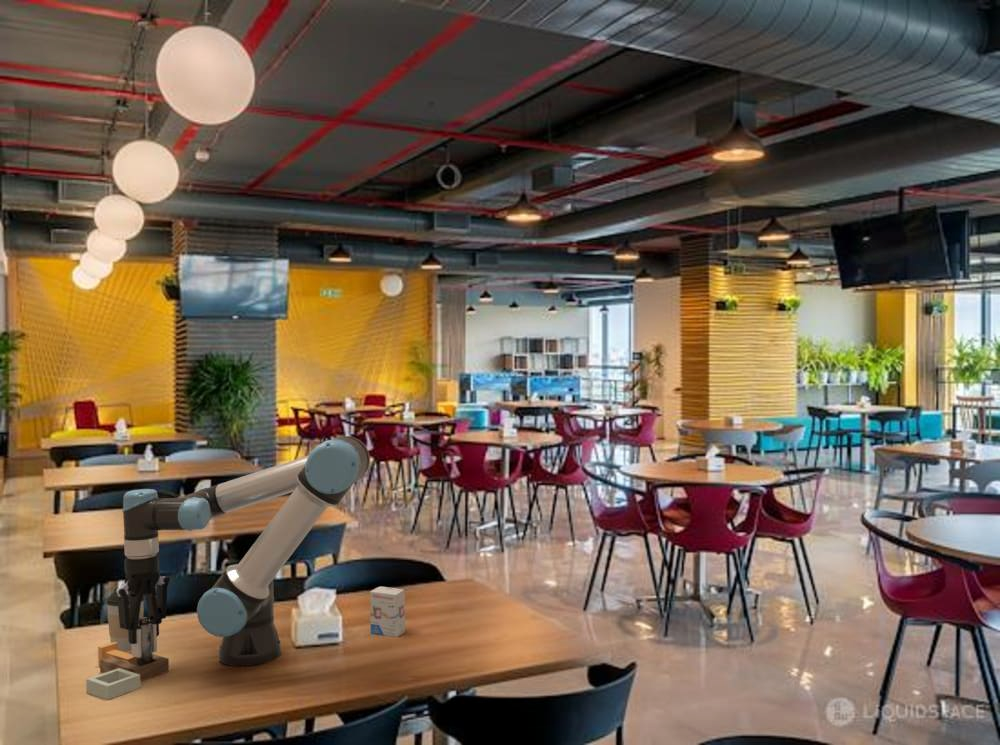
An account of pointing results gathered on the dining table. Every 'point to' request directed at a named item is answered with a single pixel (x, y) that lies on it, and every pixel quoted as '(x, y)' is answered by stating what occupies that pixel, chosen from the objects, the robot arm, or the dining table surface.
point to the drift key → (114, 653)
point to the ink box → (387, 611)
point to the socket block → (145, 671)
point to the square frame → (113, 683)
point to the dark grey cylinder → (145, 641)
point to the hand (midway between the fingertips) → (144, 653)
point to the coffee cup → (114, 625)
